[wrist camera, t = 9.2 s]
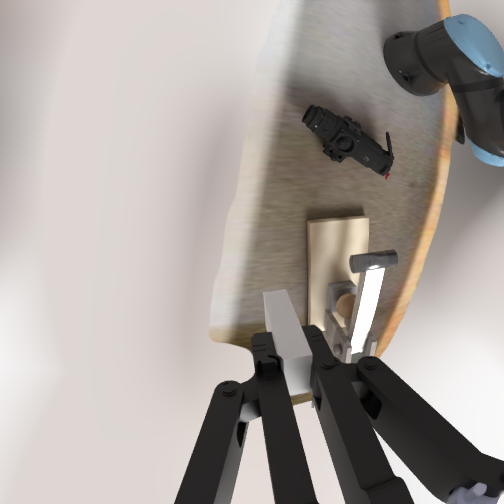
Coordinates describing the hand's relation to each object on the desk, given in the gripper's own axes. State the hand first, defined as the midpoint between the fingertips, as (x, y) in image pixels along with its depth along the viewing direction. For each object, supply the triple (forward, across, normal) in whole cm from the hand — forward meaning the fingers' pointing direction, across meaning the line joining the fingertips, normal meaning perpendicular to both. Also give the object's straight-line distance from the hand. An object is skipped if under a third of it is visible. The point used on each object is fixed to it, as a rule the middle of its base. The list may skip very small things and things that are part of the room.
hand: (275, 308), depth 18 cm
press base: (+32, +17, -15) cm, 40 cm away
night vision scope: (+33, +19, +11) cm, 39 cm away
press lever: (+20, +17, -15) cm, 30 cm away
